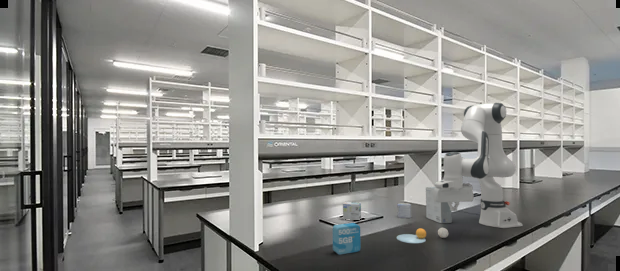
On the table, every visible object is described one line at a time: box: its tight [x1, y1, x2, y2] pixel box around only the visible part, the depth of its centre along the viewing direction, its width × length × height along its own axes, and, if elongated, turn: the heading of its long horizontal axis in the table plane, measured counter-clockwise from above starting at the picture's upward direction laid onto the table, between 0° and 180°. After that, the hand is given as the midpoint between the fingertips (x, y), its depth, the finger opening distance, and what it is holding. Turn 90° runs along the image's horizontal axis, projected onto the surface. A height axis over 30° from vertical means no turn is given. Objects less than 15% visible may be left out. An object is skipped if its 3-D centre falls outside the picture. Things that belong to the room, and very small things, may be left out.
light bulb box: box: [342, 201, 362, 221], centre depth 194 cm, size 11×7×11 cm, turn 71°
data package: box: [332, 222, 361, 256], centre depth 138 cm, size 12×4×12 cm, turn 112°
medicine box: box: [397, 202, 412, 219], centre depth 199 cm, size 8×4×9 cm, turn 84°
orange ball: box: [415, 228, 427, 239], centre depth 156 cm, size 5×5×5 cm
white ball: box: [437, 227, 449, 239], centre depth 157 cm, size 5×5×5 cm
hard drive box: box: [425, 186, 453, 224], centre depth 191 cm, size 16×8×20 cm, turn 13°
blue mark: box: [396, 233, 427, 244], centre depth 155 cm, size 14×14×1 cm
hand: (453, 210), depth 158 cm, fingers closed
